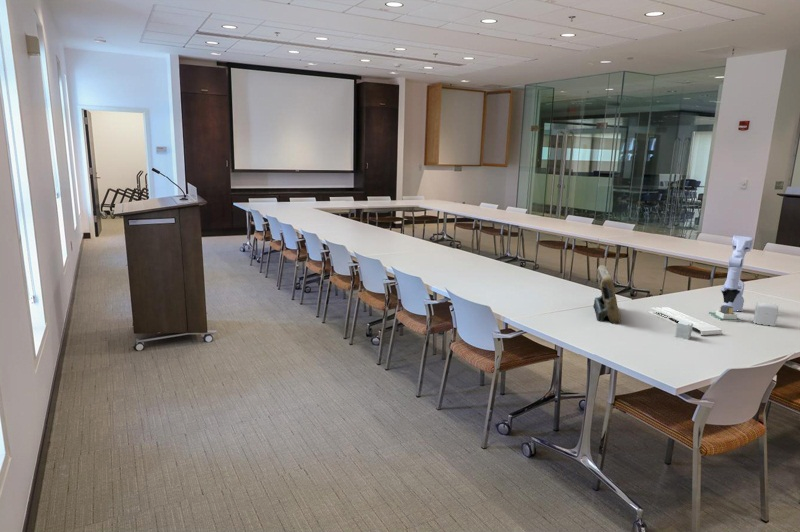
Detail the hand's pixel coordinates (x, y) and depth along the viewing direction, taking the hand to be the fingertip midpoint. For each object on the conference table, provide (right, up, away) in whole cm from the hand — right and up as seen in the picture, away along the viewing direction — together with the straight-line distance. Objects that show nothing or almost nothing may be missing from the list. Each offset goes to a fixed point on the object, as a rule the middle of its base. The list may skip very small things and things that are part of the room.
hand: (728, 302), depth 289 cm
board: (0, -9, +4) cm, 10 cm away
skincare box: (-42, -15, -31) cm, 54 cm away
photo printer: (+15, -12, -6) cm, 20 cm away
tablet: (-68, -7, +1) cm, 68 cm away
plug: (0, -8, +2) cm, 8 cm away
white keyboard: (-30, -11, -9) cm, 33 cm away
